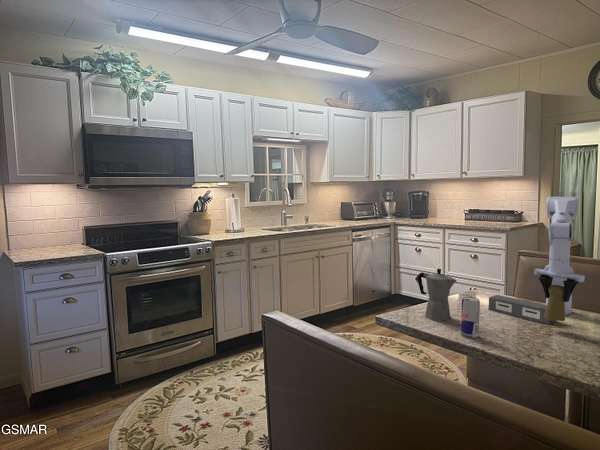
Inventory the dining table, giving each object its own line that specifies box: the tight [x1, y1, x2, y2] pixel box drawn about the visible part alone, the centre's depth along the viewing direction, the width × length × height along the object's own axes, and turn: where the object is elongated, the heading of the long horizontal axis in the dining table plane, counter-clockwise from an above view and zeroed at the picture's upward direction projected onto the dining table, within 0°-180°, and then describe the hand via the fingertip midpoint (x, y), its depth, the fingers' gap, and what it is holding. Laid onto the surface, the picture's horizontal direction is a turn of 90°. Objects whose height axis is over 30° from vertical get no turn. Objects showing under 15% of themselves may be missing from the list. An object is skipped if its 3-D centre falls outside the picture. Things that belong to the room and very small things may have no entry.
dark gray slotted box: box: [488, 294, 557, 325], centre depth 155 cm, size 6×22×5 cm, turn 36°
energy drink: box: [460, 296, 481, 339], centre depth 133 cm, size 5×5×12 cm
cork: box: [544, 285, 566, 322], centre depth 138 cm, size 6×6×11 cm
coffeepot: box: [416, 268, 457, 322], centre depth 153 cm, size 15×9×18 cm, turn 44°
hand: (557, 299), depth 138 cm, fingers closed on cork, 5 cm apart
